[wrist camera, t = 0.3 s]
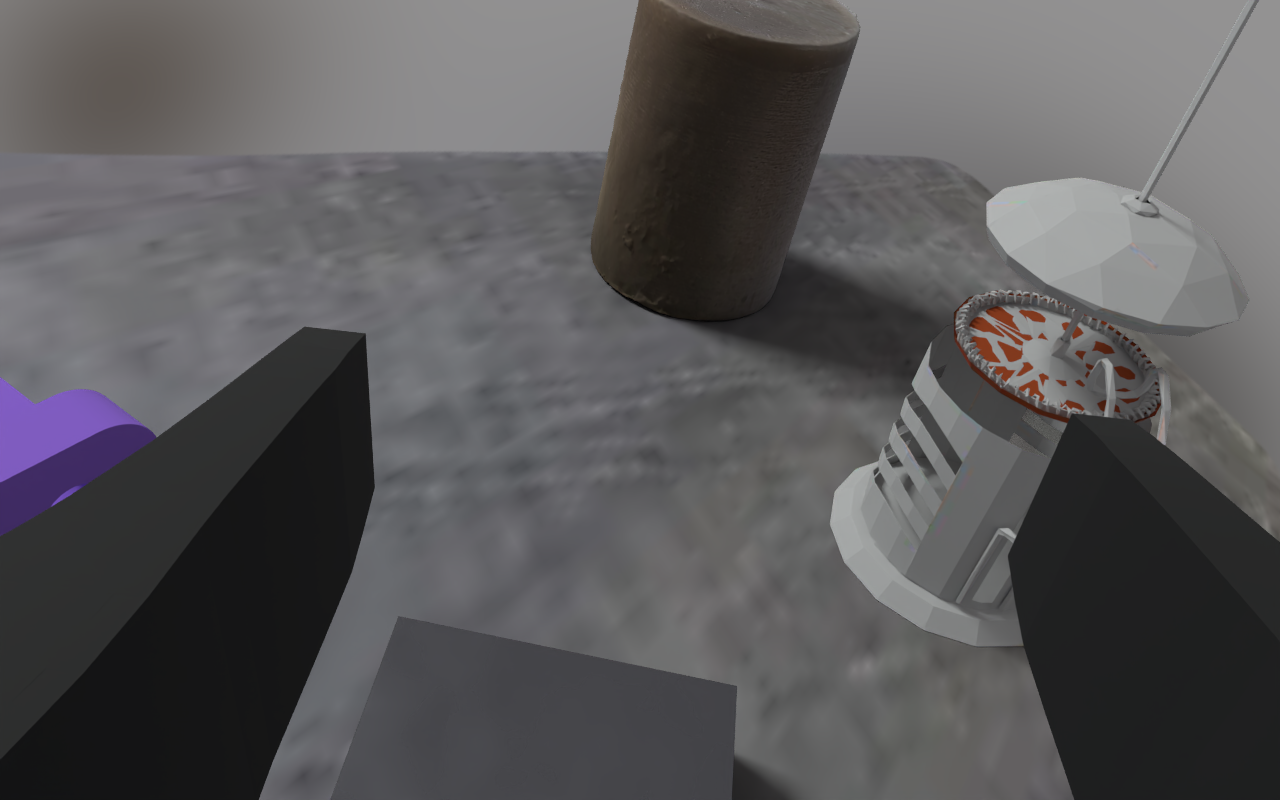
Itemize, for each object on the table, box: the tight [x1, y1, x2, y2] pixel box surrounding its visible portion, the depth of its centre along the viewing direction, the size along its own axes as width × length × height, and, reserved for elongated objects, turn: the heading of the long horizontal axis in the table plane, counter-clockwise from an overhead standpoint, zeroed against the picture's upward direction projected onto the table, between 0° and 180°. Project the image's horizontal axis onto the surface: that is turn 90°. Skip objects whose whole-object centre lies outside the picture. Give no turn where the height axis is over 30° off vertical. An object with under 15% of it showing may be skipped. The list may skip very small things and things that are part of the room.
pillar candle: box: [591, 0, 860, 321], centre depth 48 cm, size 10×10×15 cm
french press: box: [830, 0, 1259, 647], centre depth 32 cm, size 10×12×25 cm
